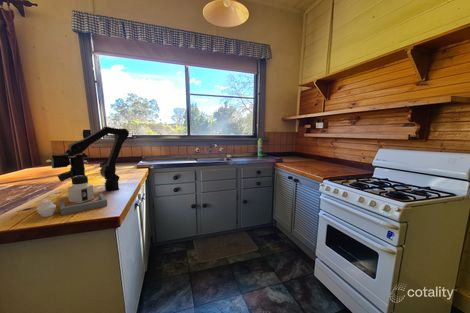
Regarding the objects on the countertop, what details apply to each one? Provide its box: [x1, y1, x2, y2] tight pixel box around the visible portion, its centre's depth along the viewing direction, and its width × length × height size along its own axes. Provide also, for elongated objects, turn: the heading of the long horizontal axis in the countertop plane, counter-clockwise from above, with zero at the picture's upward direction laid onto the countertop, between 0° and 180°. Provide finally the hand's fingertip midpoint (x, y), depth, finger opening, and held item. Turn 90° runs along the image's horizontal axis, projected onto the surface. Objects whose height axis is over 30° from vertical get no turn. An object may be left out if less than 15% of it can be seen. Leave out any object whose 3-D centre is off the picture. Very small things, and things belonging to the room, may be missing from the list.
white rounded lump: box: [36, 199, 57, 218], centre depth 83 cm, size 6×6×7 cm
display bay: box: [59, 192, 108, 216], centre depth 95 cm, size 17×14×3 cm
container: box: [67, 174, 95, 204], centre depth 101 cm, size 8×8×13 cm
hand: (80, 193), depth 108 cm, fingers closed, pressing on container
